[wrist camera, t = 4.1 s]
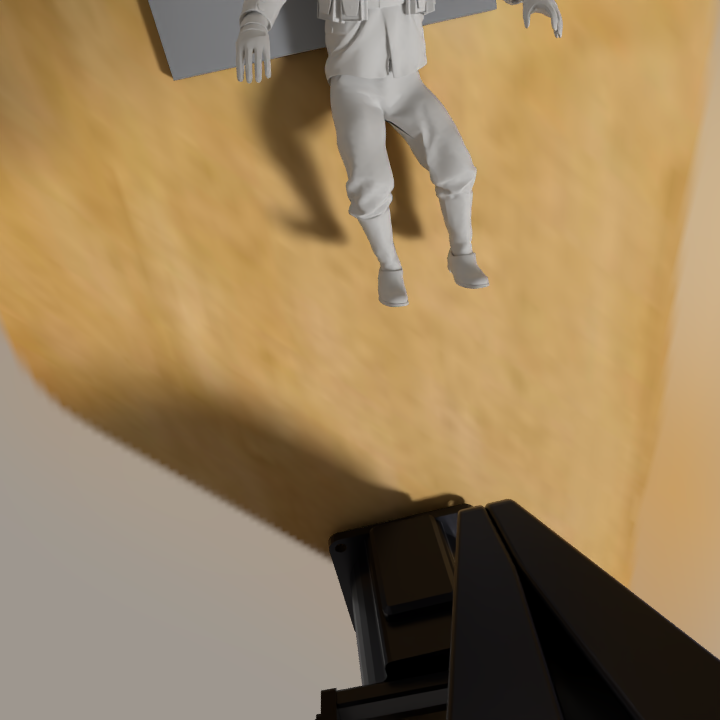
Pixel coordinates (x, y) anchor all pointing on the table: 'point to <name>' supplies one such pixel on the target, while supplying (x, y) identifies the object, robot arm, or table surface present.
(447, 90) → the table surface
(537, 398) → the table surface
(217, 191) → the table surface
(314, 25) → the board
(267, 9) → the soldier figure
